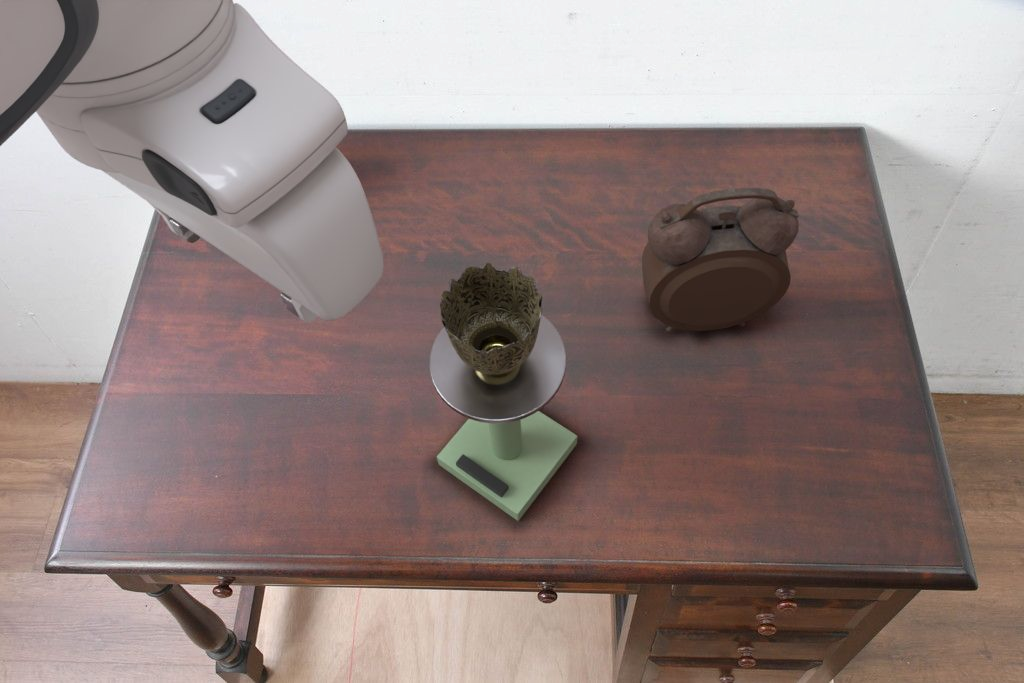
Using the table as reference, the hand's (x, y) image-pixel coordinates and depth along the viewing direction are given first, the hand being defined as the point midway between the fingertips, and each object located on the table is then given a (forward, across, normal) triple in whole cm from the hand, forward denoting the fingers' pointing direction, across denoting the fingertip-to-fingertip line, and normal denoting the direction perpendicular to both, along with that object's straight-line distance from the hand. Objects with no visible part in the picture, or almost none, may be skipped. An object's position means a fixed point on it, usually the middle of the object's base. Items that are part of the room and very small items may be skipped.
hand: (250, 268), depth 45 cm
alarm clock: (+39, +14, +38) cm, 56 cm away
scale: (+39, +7, +12) cm, 41 cm away
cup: (+20, +7, +12) cm, 24 cm away
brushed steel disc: (+22, +7, +12) cm, 26 cm away
